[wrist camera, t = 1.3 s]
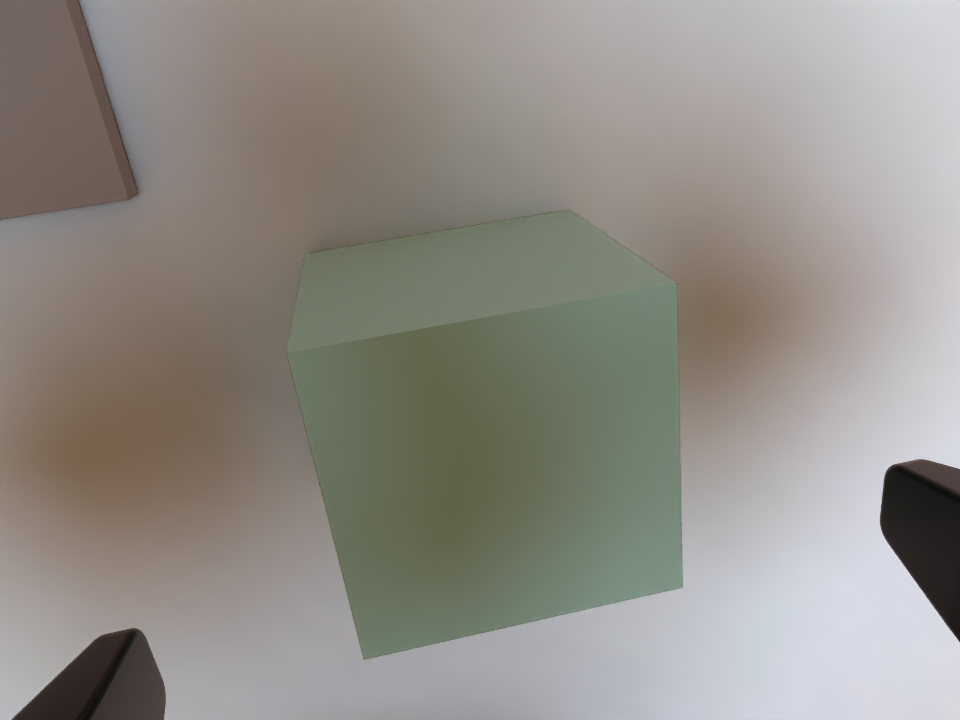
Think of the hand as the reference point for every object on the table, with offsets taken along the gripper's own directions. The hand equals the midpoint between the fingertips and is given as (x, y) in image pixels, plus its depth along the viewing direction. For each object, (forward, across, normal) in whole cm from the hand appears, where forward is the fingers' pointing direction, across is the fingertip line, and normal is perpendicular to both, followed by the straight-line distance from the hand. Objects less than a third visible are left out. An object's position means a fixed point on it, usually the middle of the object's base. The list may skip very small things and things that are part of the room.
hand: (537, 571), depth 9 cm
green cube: (+7, 0, 0) cm, 7 cm away
